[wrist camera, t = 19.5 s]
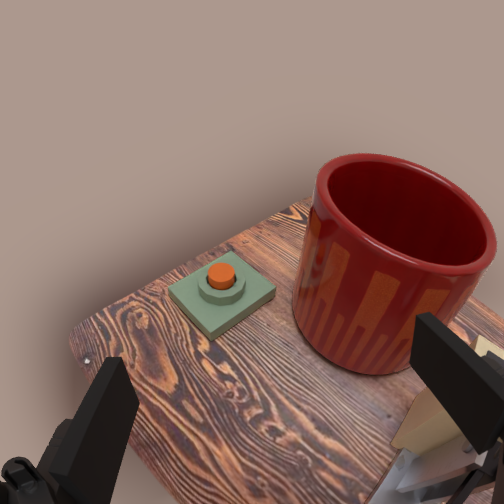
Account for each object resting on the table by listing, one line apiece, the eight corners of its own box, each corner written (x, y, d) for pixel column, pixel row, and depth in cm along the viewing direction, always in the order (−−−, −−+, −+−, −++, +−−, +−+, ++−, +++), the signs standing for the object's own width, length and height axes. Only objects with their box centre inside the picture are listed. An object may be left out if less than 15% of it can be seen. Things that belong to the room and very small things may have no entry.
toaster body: (456, 481, 24) (541, 444, 14) (389, 444, 30) (461, 395, 20) (476, 433, 29) (551, 380, 19) (415, 396, 35) (480, 332, 24)
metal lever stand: (415, 537, 20) (507, 527, 9) (359, 509, 24) (436, 496, 13) (457, 458, 27) (542, 411, 16) (409, 431, 31) (484, 374, 20)
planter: (440, 294, 48) (493, 199, 34) (407, 406, 34) (501, 311, 20) (329, 240, 57) (353, 138, 43) (259, 328, 43) (274, 202, 29)
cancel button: (219, 294, 42) (219, 286, 41) (203, 279, 44) (202, 270, 43) (239, 281, 44) (240, 272, 43) (223, 267, 46) (223, 258, 45)
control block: (211, 341, 41) (209, 324, 38) (169, 296, 46) (165, 278, 43) (274, 296, 47) (277, 278, 44) (231, 260, 52) (231, 241, 49)
